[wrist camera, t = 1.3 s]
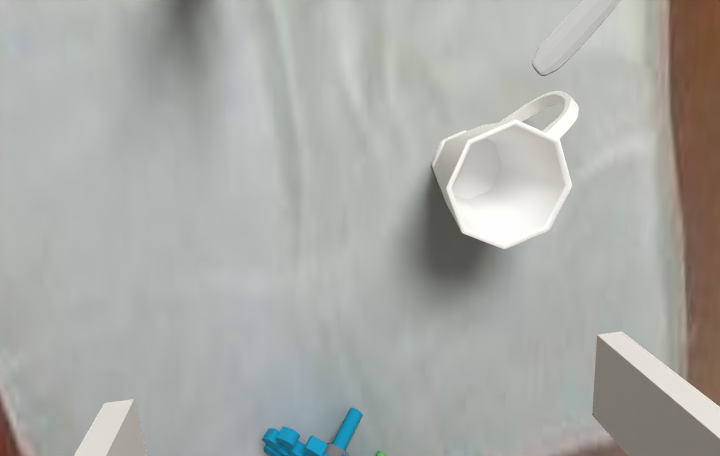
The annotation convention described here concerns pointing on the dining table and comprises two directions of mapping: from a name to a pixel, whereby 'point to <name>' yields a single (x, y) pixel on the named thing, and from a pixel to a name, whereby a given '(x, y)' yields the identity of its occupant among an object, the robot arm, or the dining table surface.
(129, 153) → the dining table surface
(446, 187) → the cup
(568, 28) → the butter knife
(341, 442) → the gear
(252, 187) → the dining table surface
